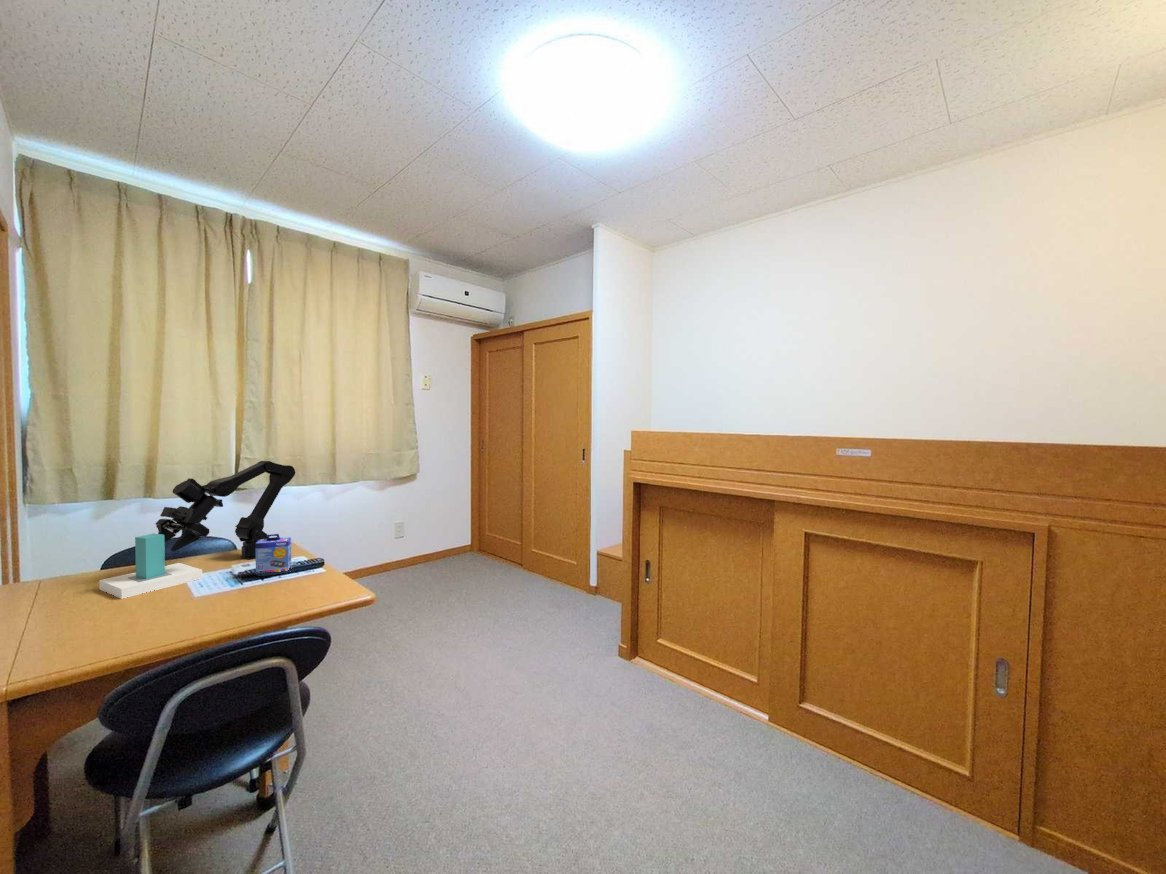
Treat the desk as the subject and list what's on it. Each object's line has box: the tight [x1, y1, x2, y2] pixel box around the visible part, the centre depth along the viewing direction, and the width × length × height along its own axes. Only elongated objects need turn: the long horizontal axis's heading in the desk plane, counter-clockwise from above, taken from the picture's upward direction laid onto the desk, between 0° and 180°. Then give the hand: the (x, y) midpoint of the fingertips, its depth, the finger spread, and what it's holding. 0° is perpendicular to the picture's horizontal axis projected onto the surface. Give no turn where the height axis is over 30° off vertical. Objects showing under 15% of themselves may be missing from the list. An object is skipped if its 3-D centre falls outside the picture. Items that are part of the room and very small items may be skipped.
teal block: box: [134, 533, 166, 579], centre depth 144 cm, size 5×5×13 cm
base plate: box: [98, 562, 203, 600], centre depth 146 cm, size 20×16×3 cm
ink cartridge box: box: [255, 533, 292, 573], centre depth 156 cm, size 10×6×14 cm, turn 115°
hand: (162, 549), depth 147 cm, fingers open, 9 cm apart
